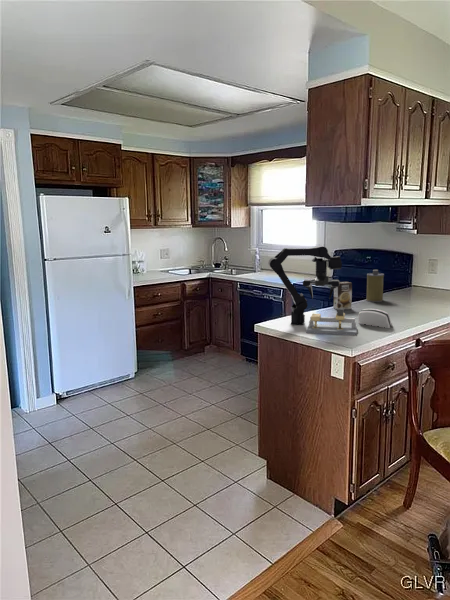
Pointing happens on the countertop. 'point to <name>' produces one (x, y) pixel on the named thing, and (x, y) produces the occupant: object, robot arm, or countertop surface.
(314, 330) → the plate
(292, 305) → the robot arm
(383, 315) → the white curved block
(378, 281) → the canister
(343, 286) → the coffee box
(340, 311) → the block
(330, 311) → the countertop surface
